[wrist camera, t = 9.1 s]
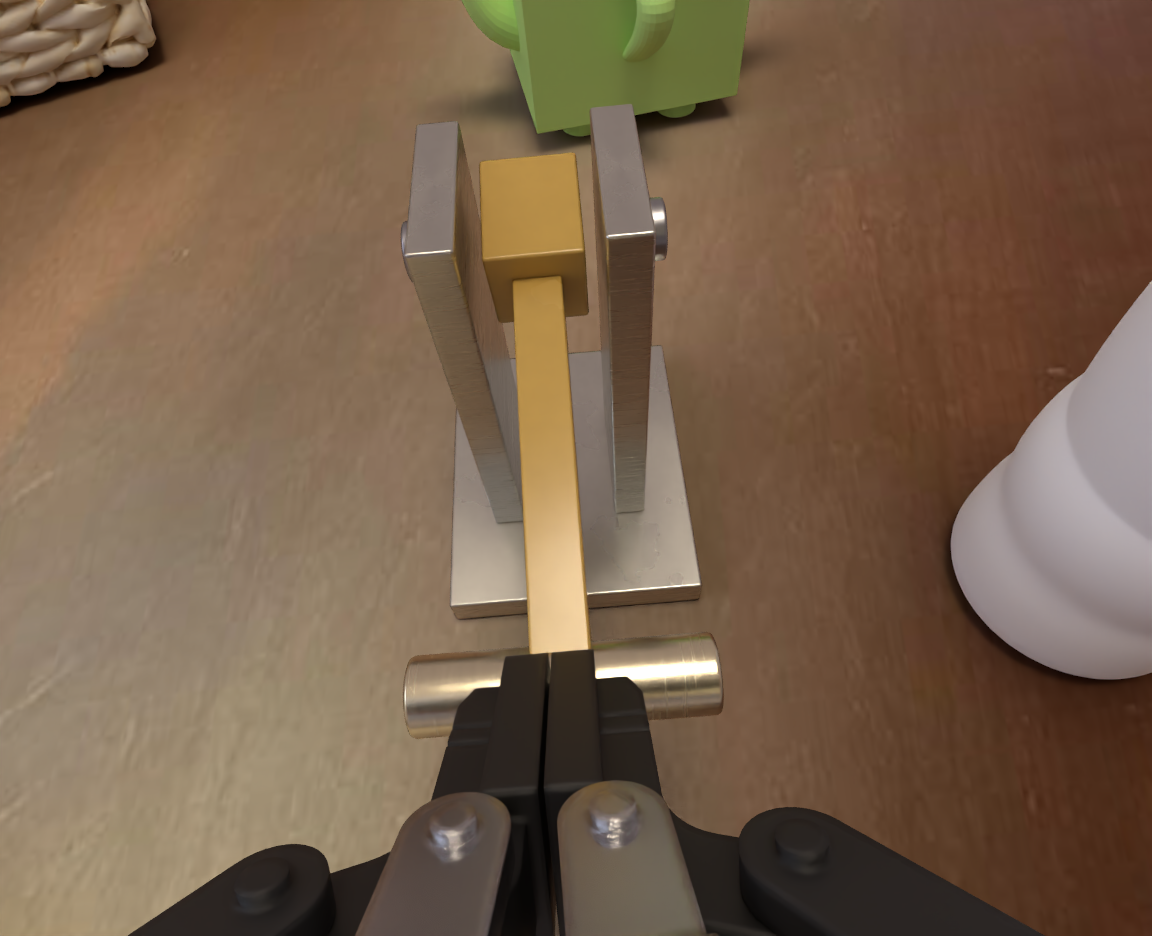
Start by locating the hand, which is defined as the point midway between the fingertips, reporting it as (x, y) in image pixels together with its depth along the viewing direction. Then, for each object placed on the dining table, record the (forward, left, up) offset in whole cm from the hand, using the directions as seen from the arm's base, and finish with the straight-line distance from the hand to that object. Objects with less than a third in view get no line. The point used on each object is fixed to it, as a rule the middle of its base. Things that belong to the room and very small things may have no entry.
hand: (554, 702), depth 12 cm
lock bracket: (-6, -8, -10) cm, 14 cm away
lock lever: (-3, -5, -1) cm, 6 cm away
